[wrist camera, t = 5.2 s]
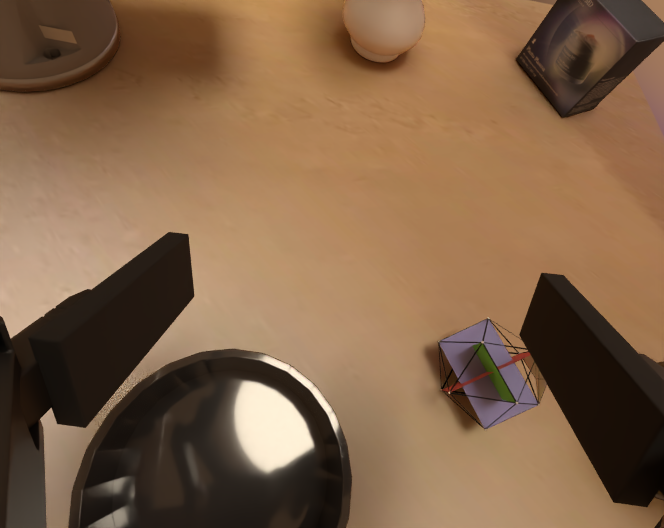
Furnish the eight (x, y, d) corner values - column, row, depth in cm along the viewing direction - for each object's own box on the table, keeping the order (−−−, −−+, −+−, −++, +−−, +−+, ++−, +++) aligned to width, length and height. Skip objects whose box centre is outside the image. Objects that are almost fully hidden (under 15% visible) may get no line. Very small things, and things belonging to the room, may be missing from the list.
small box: (511, 59, 50) (572, -29, 41) (546, 52, 52) (611, -33, 43) (560, 119, 47) (639, 39, 37) (595, 109, 49) (677, 31, 40)
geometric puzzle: (445, 453, 26) (564, 417, 22) (399, 358, 28) (499, 309, 24) (476, 419, 32) (574, 385, 28) (436, 342, 34) (522, 301, 30)
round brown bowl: (68, 605, 21) (13, 656, 16) (148, 351, 27) (126, 332, 22) (318, 621, 23) (337, 671, 18) (341, 379, 29) (360, 367, 24)
